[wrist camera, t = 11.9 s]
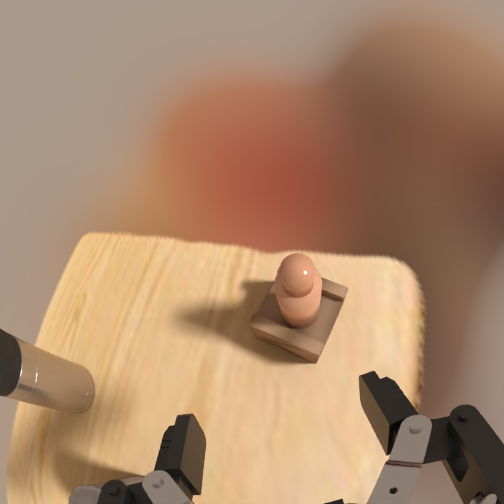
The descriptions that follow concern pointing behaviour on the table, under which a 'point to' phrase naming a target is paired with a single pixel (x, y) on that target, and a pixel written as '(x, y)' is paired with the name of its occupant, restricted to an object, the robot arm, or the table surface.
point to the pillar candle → (95, 491)
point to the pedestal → (305, 339)
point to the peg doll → (298, 291)
